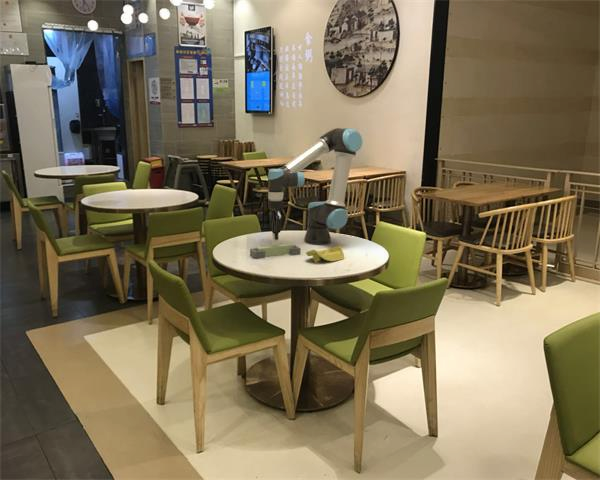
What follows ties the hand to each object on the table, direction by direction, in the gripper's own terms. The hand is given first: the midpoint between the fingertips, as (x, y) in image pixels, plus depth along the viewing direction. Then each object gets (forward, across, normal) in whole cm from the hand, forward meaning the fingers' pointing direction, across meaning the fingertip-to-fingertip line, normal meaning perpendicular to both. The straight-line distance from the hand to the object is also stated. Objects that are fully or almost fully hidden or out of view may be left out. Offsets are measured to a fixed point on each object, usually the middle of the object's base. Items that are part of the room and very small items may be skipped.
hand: (275, 245), depth 266 cm
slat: (+6, 0, 0) cm, 6 cm away
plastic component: (+6, -16, -20) cm, 26 cm away
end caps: (+5, 0, 0) cm, 5 cm away
